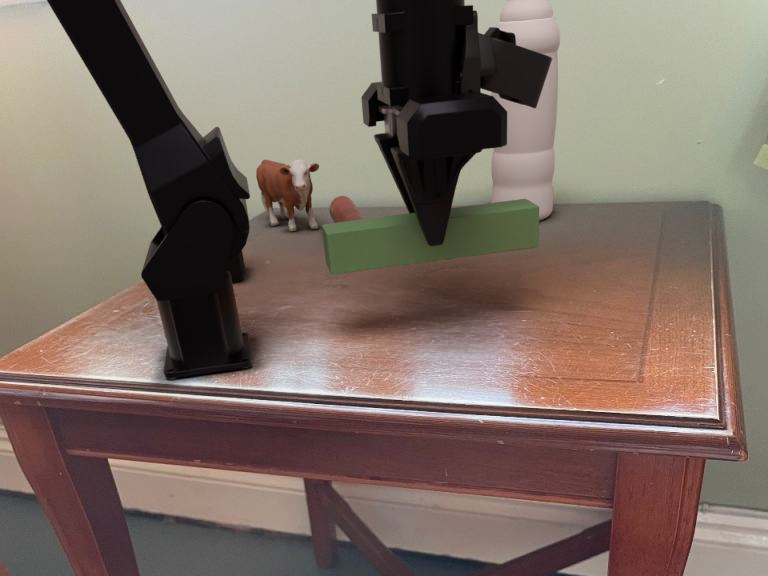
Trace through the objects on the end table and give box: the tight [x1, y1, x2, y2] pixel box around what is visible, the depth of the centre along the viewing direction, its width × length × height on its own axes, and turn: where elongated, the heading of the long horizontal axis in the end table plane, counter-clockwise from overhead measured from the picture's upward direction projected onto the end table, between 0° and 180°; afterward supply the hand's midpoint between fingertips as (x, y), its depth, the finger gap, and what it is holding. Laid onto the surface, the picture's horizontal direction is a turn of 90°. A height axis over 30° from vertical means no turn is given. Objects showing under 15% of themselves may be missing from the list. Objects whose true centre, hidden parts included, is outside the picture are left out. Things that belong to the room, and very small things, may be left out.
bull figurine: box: [255, 158, 320, 232], centre depth 91 cm, size 4×13×8 cm, turn 29°
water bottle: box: [490, 0, 561, 221], centre depth 82 cm, size 7×7×25 cm
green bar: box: [321, 199, 540, 276], centre depth 58 cm, size 3×16×3 cm, turn 100°
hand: (430, 239), depth 58 cm, fingers closed on green bar, 3 cm apart
